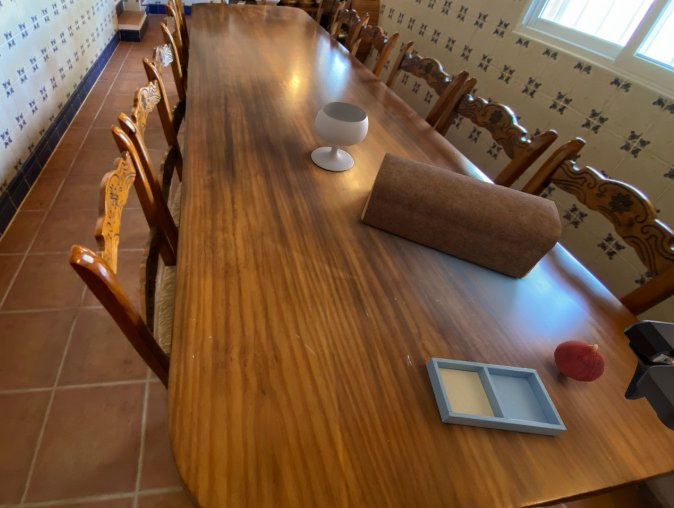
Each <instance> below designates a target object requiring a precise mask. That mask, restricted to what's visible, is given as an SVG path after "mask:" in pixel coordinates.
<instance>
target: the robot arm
mask: <svg viewBox="0 0 674 508" xmlns="http://www.w3.org/2000/svg"><path fill="white" fill-rule="evenodd" d="M623 335H624V336H625V337H626V338H627V340H629V341H628V347H629V349H630V350H631V352H632V353H633V355H634V357H635V358H636V360H637V363H636V367H635V371H634V373H633V375H632V377H631V379H630V382H629V384H628V386H627V388H626V389H625V392H624V395H623V396H624V398H625V399H626V400H630V401H636V400H639V399H643V398H645V399H646V401H647V402H648V403H649V405H650V406H651V408H652V409H653V411H654V412H655V414H656V417H657V418H658V420H659V421H660V422H661V423H662V424H663V426H665V427H666V428H668V429H669V430H670V431H673V432H674V323H673V322H668V321H667V322H665V321H657V320H650V319H641V320H638V321H634V322H633V323H631V324H630V325H628V326H627V327H626V328H624V331H623Z"/></svg>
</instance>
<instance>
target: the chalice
mask: <svg viewBox="0 0 674 508" xmlns="http://www.w3.org/2000/svg"><path fill="white" fill-rule="evenodd" d="M313 125H314V132H315V133H316V134H317V136H318V137H319V138H320V139H321V140H322V141H324V142H326V143H327V144H330V146H322V147H318V148H315V149H314V150H313V151H312V152H311V155H310V158H311V160H312V162H314V164H315V165H317V166H318V167H320V168H322V169H325V170H328V171H332V172H344V171H348V170H350V169H351V168H353V166H354V163H355V161H354V158H353V156H352V155H350V154H349V153H348V152H347V151H345V150H343V149H340V148H342V147H352V146H355V145H358V144H359V143H361V142H362V141H364V139H365V138H366V137H367V134H368V130H369V118H368V114H367V112H366V110H364V108H361V107H360V106H358V105H355V104H352V103H350V102H349V103H348V102H344V101H333V102H328V103H326V104H324V105H323V106H322V107H321V108H320V109H319V110H318V113H317V115H316V117H315V120H314V124H313Z"/></svg>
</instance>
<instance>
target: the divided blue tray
mask: <svg viewBox="0 0 674 508" xmlns="http://www.w3.org/2000/svg"><path fill="white" fill-rule="evenodd" d="M425 367H426V371H427V374H428V378H429V381H430V384H431V387H432V391H433V394H434V398H435V401H436V405H437V409H438V411H439V414H440V415H439V416H440V418H441V421H442V423H446V424H455V425H462V426H470V427H479V428H488V429H494V430H495V429H496V430H504V431H511V432H520V433H528V434H535V435H545V436H553V437H558V436H559V435H561V434H563V433H564V432H566V431H568V429H567V427H566V425H565V423H564V421H563V420H562V417H561V416H560V414H559V412H558V410H557V408H556V406H555V404H554V401H553V400H552V399H551V396H550V395H549V393H548V391H547V389H546V387H545V385H544V383H543V381H542V379H541V377H540V375H539V374H538V371H537V370H536V369H534V368H527V367H526V368H525V367H517V366H508V365H501V364H494V363H493V364H492V363H484V362H476V361H475V362H474V361H466V360H460V359H459V360H458V359H451V358H450V359H449V358H441V357H434V356H432V357H430V359H429V360H428V361H427V362H426V364H425Z"/></svg>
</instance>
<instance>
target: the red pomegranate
mask: <svg viewBox="0 0 674 508" xmlns="http://www.w3.org/2000/svg"><path fill="white" fill-rule="evenodd" d="M599 349H600V348H599V345H598V344H597V343H592V344H590V343H588V342H585V341H582V340H566V341H564V342H562V343H559V344H558V345H557V346H556V348H555V349H554V351H553V357H554V359H553V360H554V362H555V365H556V367H557V369H558V370H559V372H561V373H562V374H563V375H565V376H566V377H568V378H570V379H572V380H574V381H577V382H586V383H590V382H594V381H596V380H598V379H599V378H601V377H602V376H603V375H604V372H605V365H606V362H605V358H604V356H603V354H602V352H600V350H599Z"/></svg>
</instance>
